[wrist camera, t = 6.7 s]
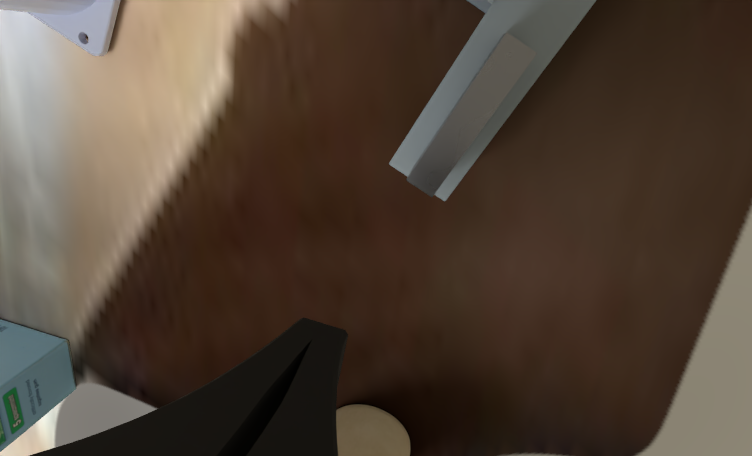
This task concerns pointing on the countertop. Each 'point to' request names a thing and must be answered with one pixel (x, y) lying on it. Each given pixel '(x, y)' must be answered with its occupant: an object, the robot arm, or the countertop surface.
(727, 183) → the countertop surface
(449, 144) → the grey rectangular bar
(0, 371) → the gum box
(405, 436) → the candle
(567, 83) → the countertop surface
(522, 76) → the box
